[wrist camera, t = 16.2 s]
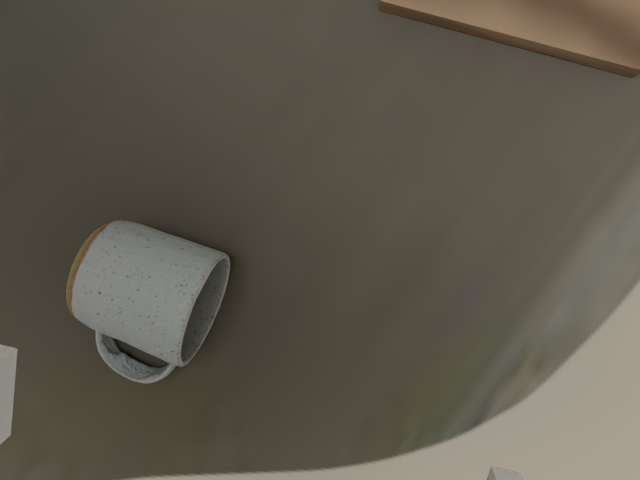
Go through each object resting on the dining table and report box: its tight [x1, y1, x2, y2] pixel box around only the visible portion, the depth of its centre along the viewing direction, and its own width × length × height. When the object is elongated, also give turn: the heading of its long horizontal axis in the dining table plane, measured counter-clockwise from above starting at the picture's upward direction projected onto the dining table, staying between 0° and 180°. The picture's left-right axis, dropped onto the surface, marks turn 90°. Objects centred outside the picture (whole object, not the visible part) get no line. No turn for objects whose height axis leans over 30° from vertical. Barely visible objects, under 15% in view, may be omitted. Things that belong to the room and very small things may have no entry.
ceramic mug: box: [66, 220, 230, 383], centre depth 35 cm, size 11×8×8 cm
